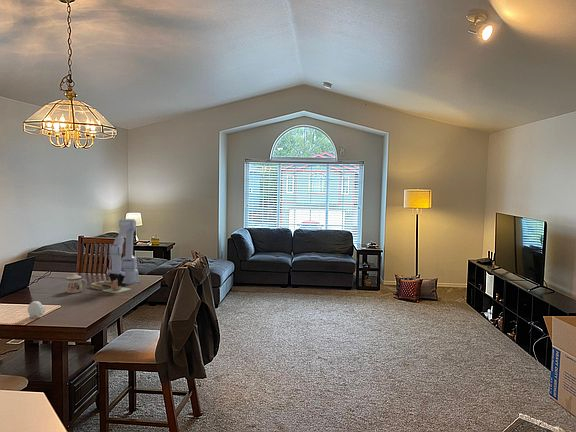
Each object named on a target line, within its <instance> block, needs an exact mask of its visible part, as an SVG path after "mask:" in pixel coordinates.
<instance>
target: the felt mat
mask: <svg viewBox="0 0 576 432" xmlns="http://www.w3.org/2000/svg"><path fill="white" fill-rule="evenodd" d="M130 290H132V288H128V287H123V286H121V290H117V291H114V290H113V288H111V287H110V288H107V289H103V290H101V291H102V292H106V293H112V294H119V293H123V292H126V291H130Z"/></svg>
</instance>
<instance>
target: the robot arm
mask: <svg viewBox="0 0 576 432" xmlns="http://www.w3.org/2000/svg"><path fill="white" fill-rule="evenodd" d="M118 227H119V230H118V235H117V236H116V237H115V239H114V241H113V245H111V246H110V247H109V255H110V258H111V269H108V270H107V273H108V274H107V276H108V278H109V279H110V282H112V283H113V280H117V281H118V286H121V287H123V286H122V285H123V284H125V285H131V284H136V283H139V282H140V280H139V278H140V275H139V270H138V258H137V257H136V256H135V255H134V233H135V232H136V231H137V221H136V220H135V218H132V219H131V218H120V219H119V220H118ZM124 243H125V249H123V248H124ZM123 250H125V253H124V256H123V257H122V254H123Z"/></svg>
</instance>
